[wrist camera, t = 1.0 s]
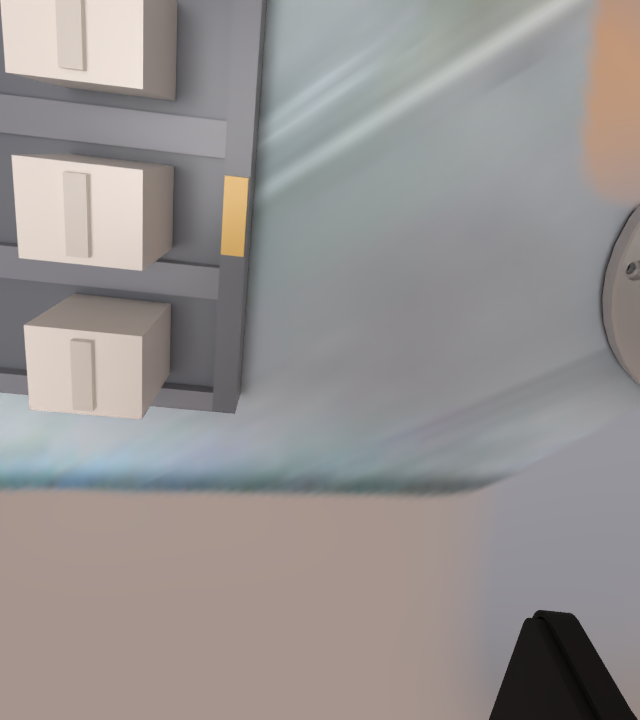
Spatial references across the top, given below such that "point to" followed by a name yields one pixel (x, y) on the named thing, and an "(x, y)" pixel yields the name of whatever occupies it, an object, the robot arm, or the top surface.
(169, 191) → the tab
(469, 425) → the top surface
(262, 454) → the top surface
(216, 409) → the switch board
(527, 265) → the top surface
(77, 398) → the tab
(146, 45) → the tab
